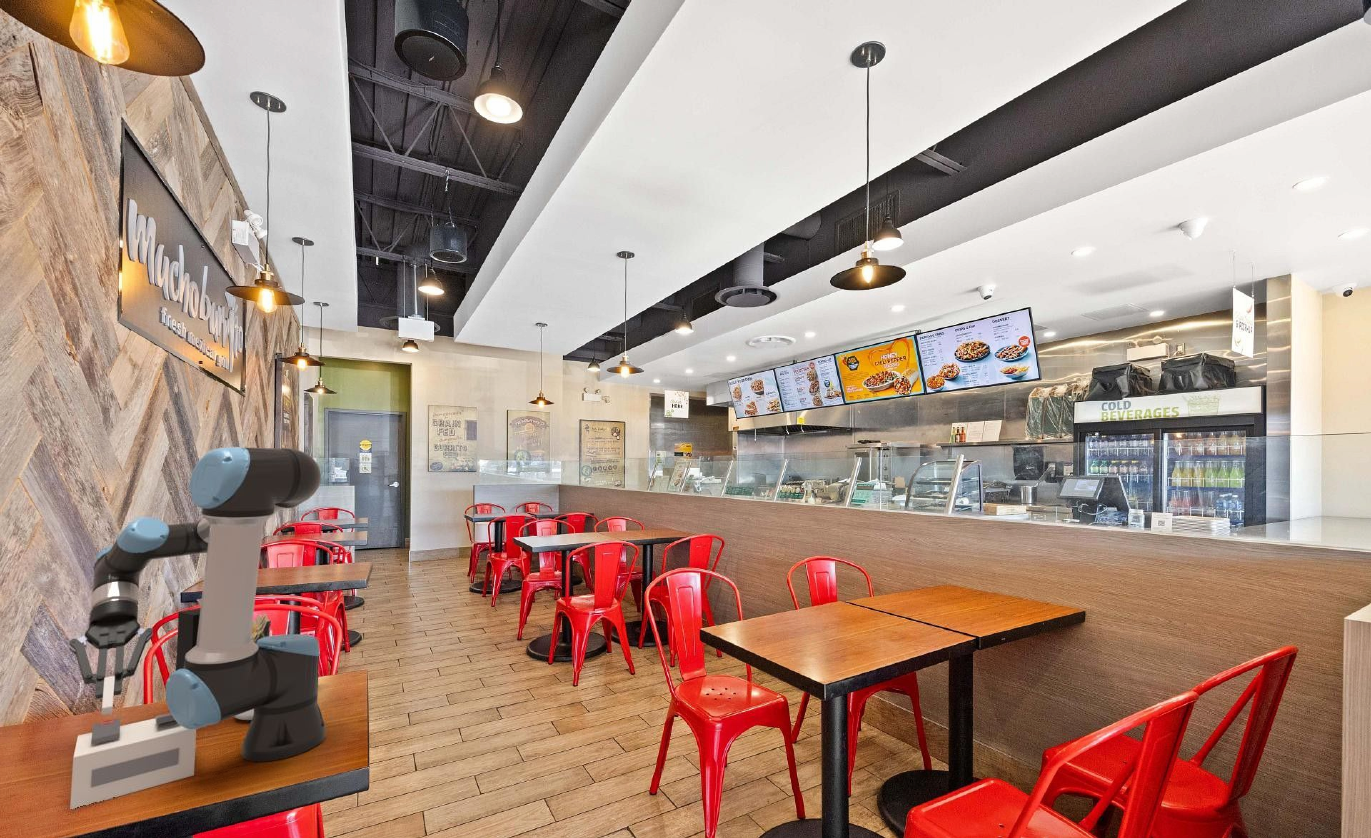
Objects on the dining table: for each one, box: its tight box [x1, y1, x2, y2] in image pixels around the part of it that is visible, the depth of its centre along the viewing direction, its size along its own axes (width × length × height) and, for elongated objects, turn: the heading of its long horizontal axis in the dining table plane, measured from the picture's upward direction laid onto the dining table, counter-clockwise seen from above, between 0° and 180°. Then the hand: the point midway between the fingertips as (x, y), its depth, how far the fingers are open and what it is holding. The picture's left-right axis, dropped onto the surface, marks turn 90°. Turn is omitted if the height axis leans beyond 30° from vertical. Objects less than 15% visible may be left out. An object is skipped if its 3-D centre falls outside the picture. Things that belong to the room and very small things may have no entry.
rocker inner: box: [154, 712, 175, 724], centre depth 119 cm, size 6×4×1 cm
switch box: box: [69, 717, 197, 811], centre depth 116 cm, size 12×17×9 cm
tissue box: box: [175, 598, 202, 671], centre depth 149 cm, size 8×8×28 cm
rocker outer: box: [91, 717, 122, 745], centre depth 113 cm, size 6×4×1 cm
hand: (107, 710), depth 116 cm, fingers closed
